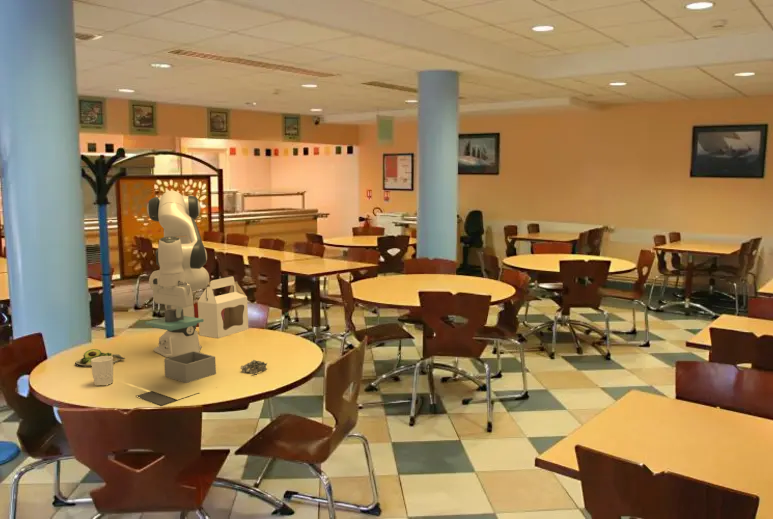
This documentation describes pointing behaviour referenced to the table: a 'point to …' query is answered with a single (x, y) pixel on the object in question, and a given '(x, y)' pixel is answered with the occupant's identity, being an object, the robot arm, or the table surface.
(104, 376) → the tan cup
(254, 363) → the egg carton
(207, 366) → the storage box
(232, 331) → the gable box
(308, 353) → the table surface
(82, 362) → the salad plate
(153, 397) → the rubber mat
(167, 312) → the lid
